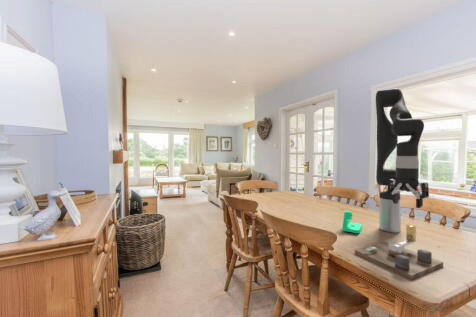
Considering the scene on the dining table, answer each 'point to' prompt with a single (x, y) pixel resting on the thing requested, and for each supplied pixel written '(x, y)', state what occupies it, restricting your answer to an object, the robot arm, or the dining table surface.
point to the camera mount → (350, 223)
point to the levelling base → (391, 261)
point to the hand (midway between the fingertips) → (406, 205)
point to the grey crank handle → (399, 247)
